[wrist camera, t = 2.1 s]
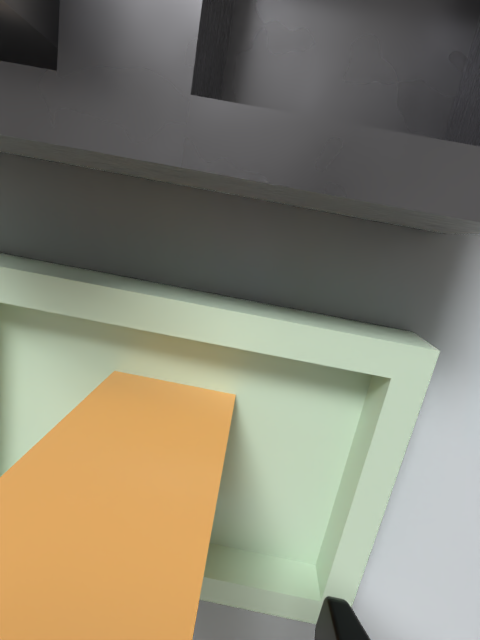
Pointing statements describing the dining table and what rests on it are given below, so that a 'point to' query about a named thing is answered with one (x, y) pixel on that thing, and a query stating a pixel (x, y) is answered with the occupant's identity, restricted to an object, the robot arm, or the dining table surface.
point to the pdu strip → (267, 102)
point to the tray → (247, 419)
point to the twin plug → (30, 32)
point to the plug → (114, 515)
